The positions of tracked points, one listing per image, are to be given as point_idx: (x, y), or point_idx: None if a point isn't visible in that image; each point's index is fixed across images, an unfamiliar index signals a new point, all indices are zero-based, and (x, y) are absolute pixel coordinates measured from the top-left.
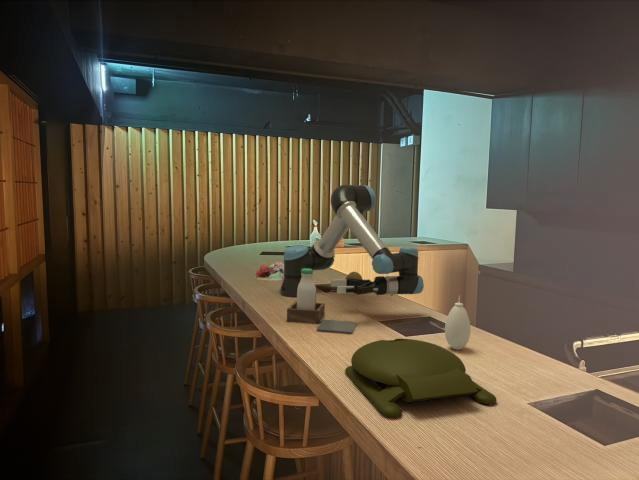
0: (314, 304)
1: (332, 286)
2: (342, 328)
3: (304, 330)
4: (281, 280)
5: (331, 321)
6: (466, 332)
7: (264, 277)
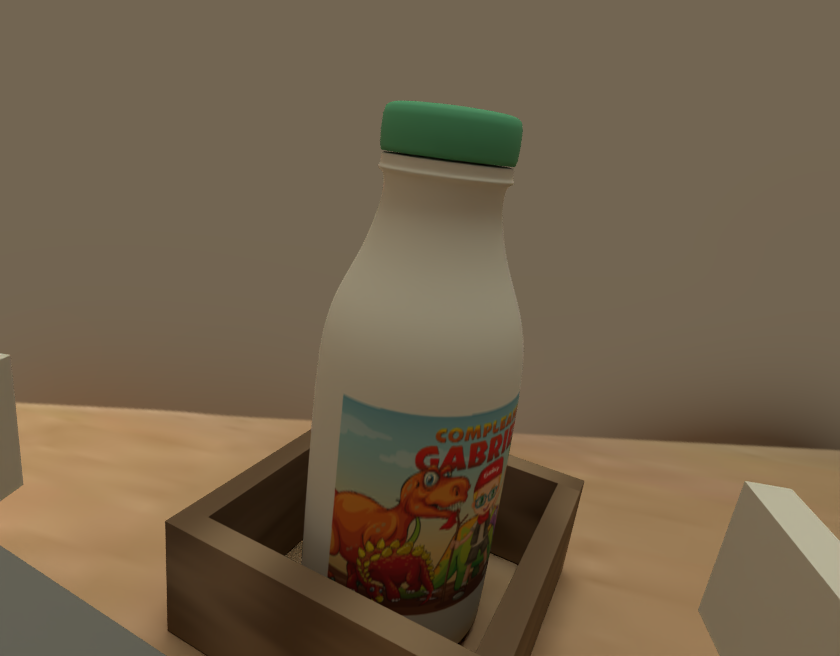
0: (324, 503)
1: (713, 639)
2: None
3: (91, 500)
4: None
5: None
6: None
7: None
